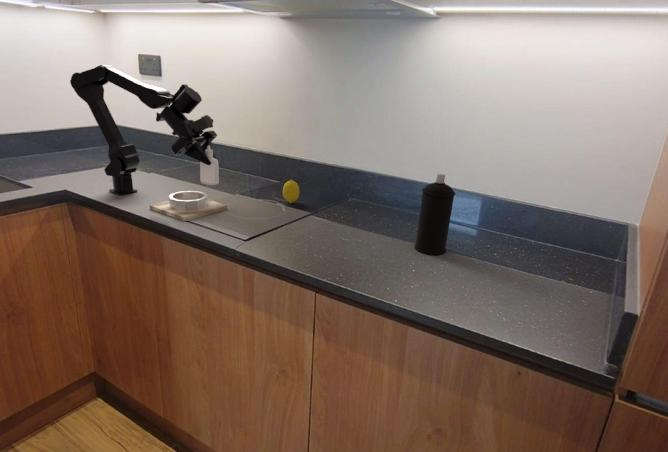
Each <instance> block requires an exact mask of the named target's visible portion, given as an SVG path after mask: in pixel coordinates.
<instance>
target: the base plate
mask: <svg viewBox="0 0 668 452" xmlns="http://www.w3.org/2000/svg"><path fill="white" fill-rule="evenodd" d="M149 209H150V210H152V211H154V212H158V213H159V214H160V213H161V214H162V215H165V216H169V217H171V218H174V219H177V220H178V221H179V220H180V221H183V222H187V221H191V220H194V219H198V218H200V217H203V216H208V215H212V214H214V213H215V214H216V213H218V212H222V211H225V210H228V205H227V204H224V203H220V202H218V201H215V200H214V201H213V200H212V199H208V206H207V207H206V208H204V209H200V210H194V211H179V210H175V209H172V208H170V206H169V200H166V201H162V202H158V203H154V204H150V205H149Z"/></svg>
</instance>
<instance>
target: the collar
mask: <svg viewBox="0 0 668 452" xmlns="http://www.w3.org/2000/svg"><path fill="white" fill-rule="evenodd" d="M208 200H209V195H208V194H207V193H206V192H202V191H199V190H197V191H196V190H183V191H182V190H181V191H177V192H172V193H171V194H169V195H168V201H169V206H170V208H172V209H175V210H179V211H194V210H200V209H204V208H206V207H207V206H208Z"/></svg>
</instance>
